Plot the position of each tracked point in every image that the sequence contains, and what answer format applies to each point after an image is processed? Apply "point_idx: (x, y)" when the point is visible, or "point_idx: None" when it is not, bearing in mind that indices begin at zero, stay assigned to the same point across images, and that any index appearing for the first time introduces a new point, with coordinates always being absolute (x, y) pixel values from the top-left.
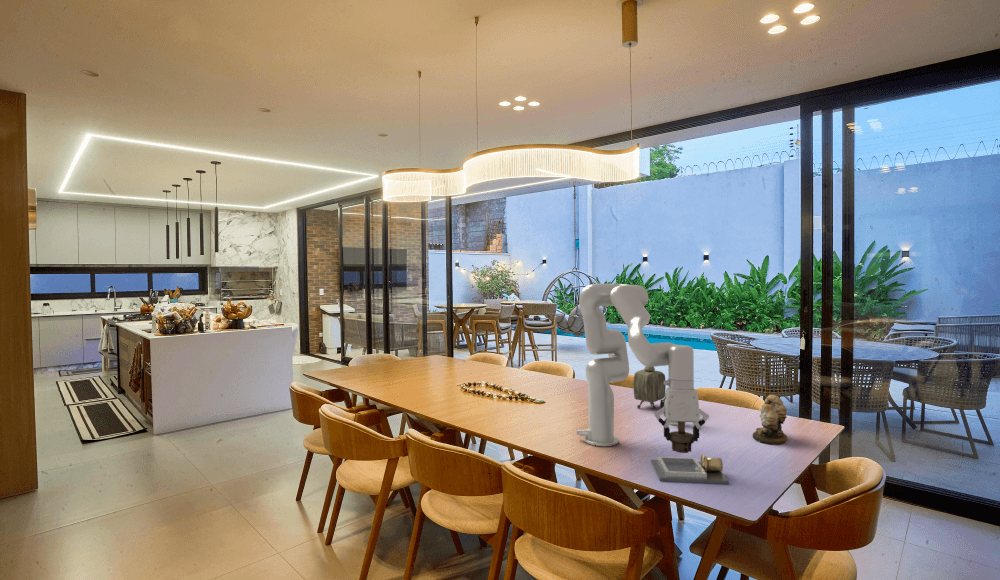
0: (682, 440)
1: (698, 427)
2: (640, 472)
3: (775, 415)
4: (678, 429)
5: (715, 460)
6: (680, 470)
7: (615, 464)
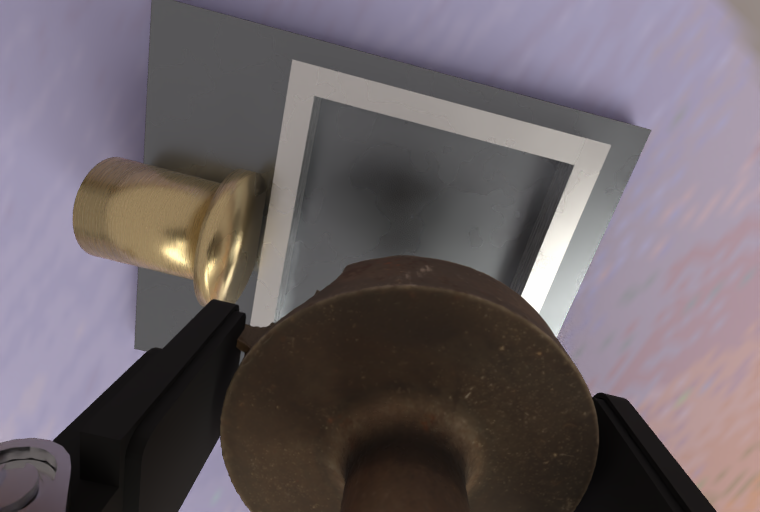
0: (482, 280)
1: (21, 473)
2: (667, 295)
3: None
4: None
5: (133, 201)
6: (418, 245)
7: (737, 431)
